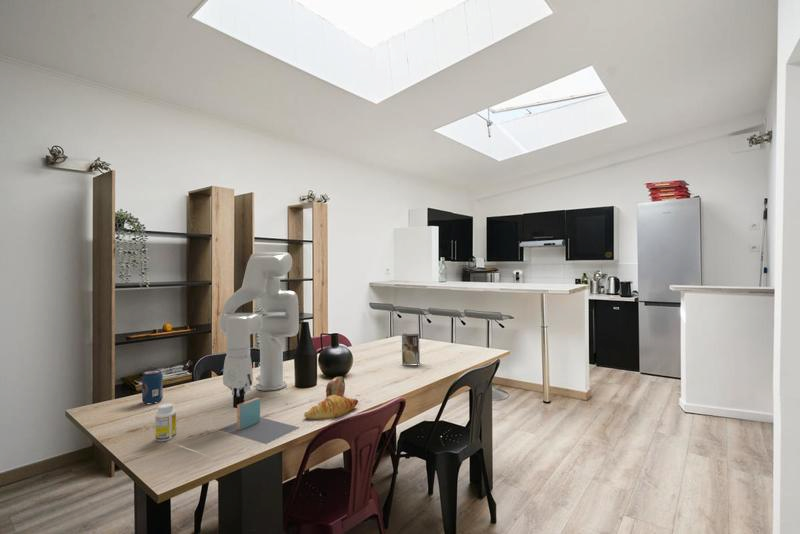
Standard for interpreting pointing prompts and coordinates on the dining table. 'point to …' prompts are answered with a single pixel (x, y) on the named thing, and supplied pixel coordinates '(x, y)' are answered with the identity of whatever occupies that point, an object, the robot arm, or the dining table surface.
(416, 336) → the coffee box
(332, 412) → the croissant
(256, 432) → the mat
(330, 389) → the tin
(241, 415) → the tile
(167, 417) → the supplement bottle
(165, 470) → the dining table surface
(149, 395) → the soda can
